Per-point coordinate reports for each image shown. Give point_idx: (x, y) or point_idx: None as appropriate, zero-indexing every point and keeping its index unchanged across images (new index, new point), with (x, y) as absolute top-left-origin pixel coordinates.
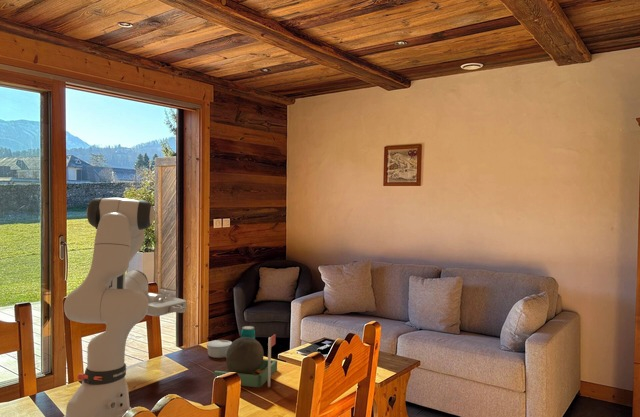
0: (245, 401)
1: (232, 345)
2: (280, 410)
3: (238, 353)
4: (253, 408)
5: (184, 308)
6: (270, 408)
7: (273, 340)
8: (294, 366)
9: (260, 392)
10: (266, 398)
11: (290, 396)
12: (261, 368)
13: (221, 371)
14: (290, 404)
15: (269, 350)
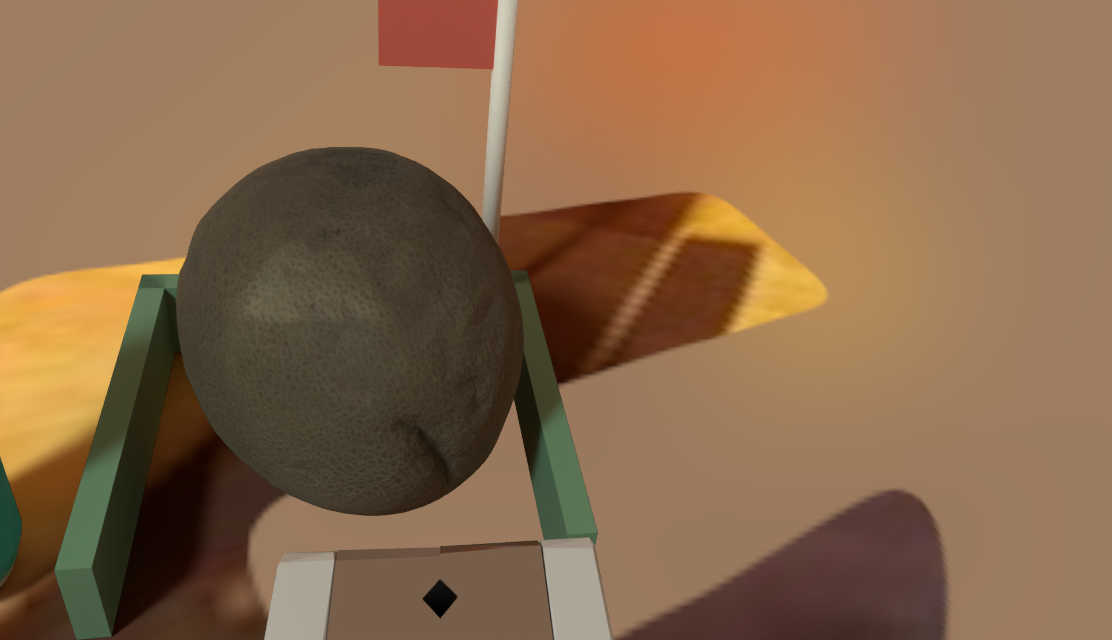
0: (743, 328)
1: (453, 279)
2: (727, 210)
3: (508, 268)
4: (786, 282)
5: (390, 552)
6: (736, 237)
7: (429, 25)
8: (37, 282)
9: (588, 310)
10: (645, 272)
11: (561, 212)
12: (158, 408)
13: (560, 488)
14: (647, 198)
15: (509, 80)
